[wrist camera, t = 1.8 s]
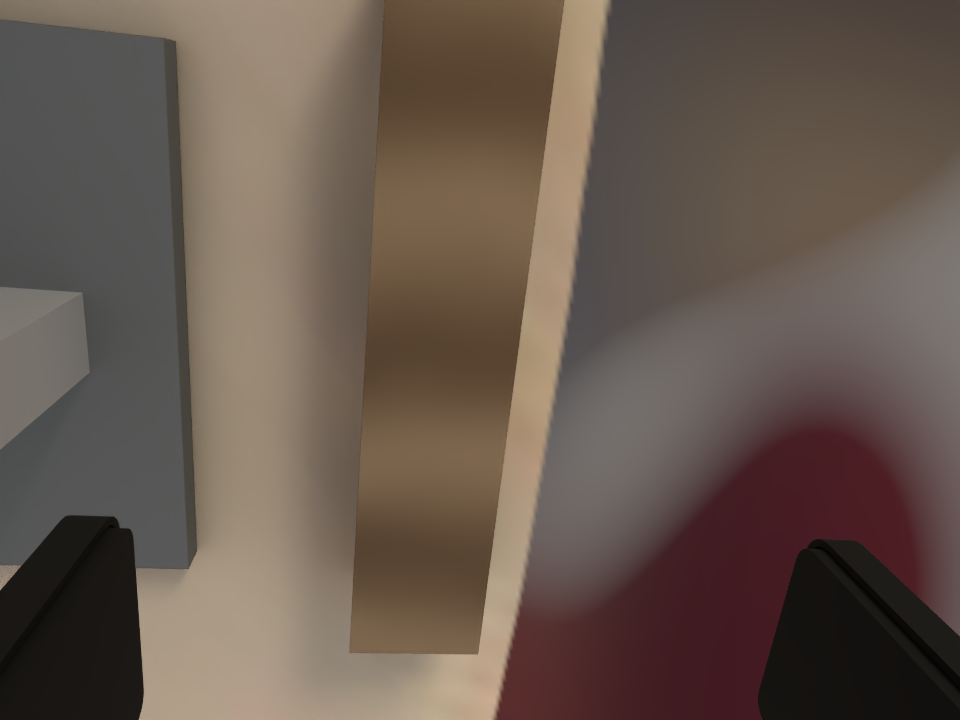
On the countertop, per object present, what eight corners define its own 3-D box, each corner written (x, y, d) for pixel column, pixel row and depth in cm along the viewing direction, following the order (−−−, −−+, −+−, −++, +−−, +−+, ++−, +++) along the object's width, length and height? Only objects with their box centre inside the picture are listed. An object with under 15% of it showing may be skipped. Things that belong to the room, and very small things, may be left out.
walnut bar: (393, -58, 19) (389, -98, 15) (541, -38, 19) (573, -70, 15) (357, 571, 25) (349, 652, 22) (467, 574, 26) (478, 654, 22)
